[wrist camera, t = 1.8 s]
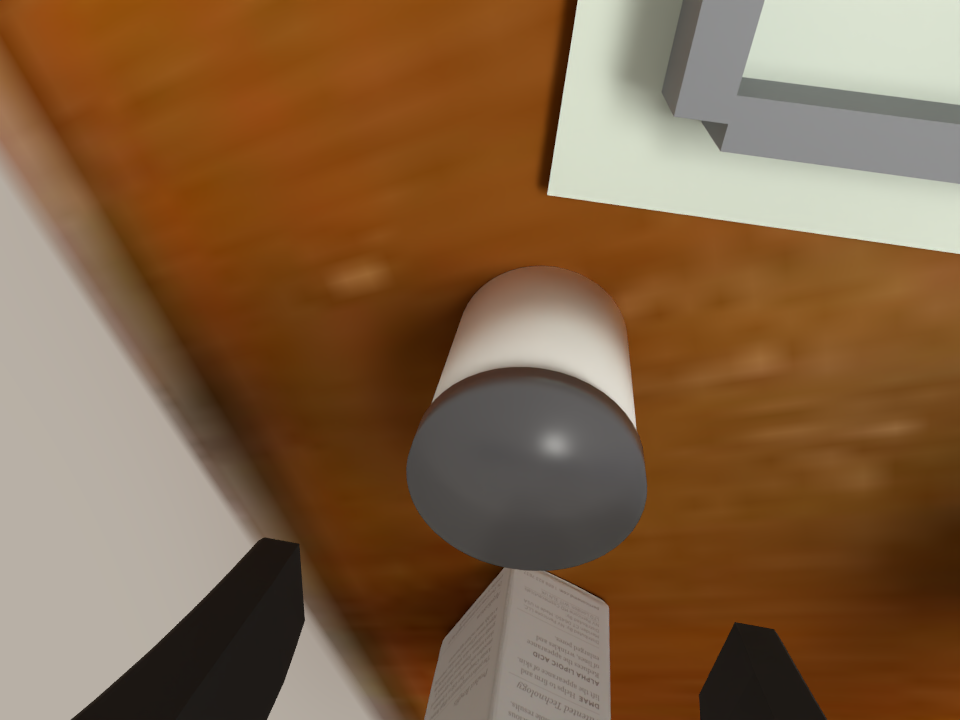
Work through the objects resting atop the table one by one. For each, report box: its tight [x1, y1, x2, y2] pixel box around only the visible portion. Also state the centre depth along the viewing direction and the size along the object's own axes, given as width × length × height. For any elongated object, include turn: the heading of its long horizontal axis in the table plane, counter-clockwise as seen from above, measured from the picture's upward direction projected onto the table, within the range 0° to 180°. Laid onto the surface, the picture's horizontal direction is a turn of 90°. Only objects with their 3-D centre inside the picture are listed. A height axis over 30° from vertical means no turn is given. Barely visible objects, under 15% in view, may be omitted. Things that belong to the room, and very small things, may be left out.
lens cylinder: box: [406, 266, 647, 571], centre depth 16 cm, size 5×5×6 cm
